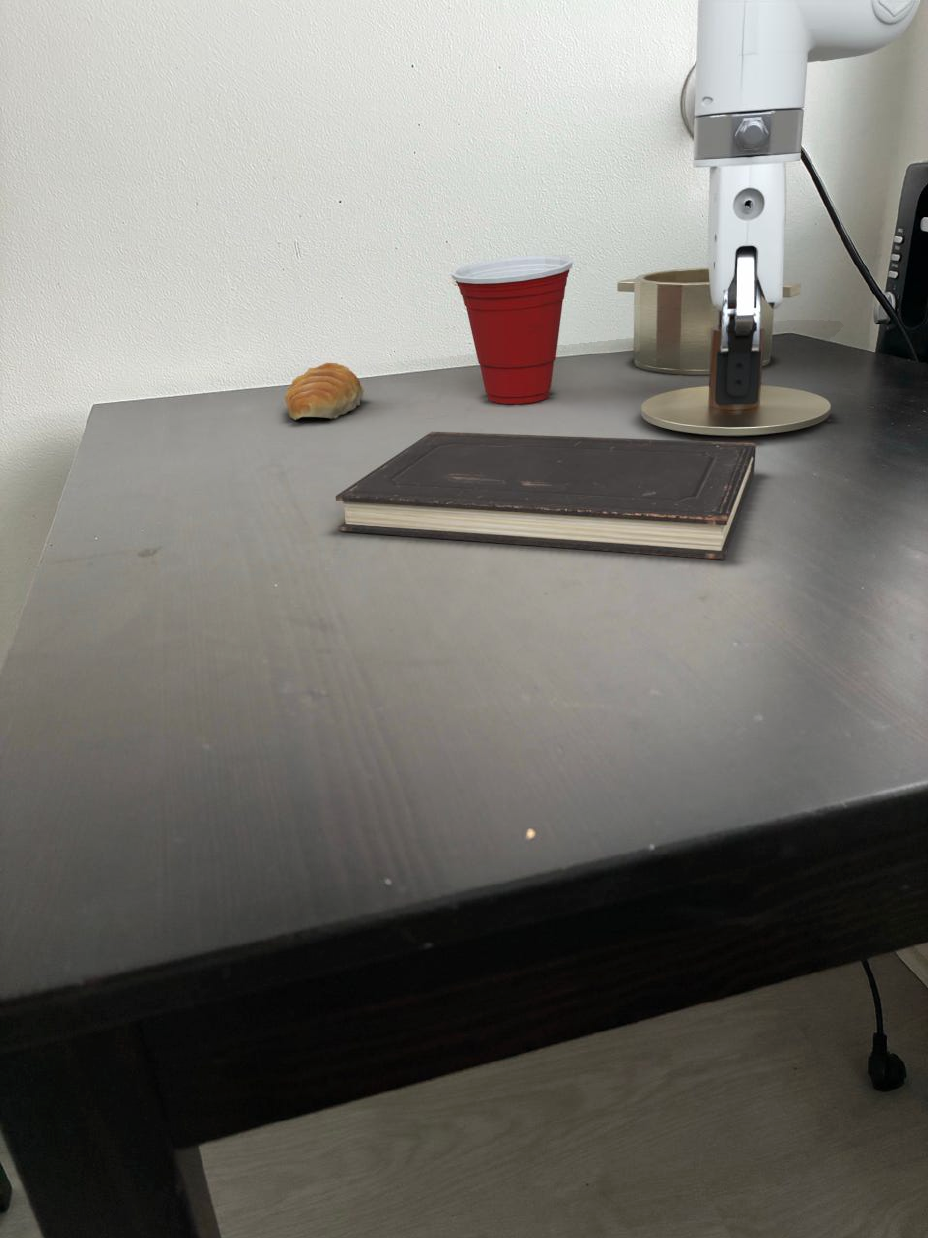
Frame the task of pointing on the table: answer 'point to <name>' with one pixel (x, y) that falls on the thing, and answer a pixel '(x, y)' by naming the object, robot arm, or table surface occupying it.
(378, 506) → the hardcover book
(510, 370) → the plastic cup
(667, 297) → the pot
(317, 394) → the pastry
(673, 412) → the lid
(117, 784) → the table surface
